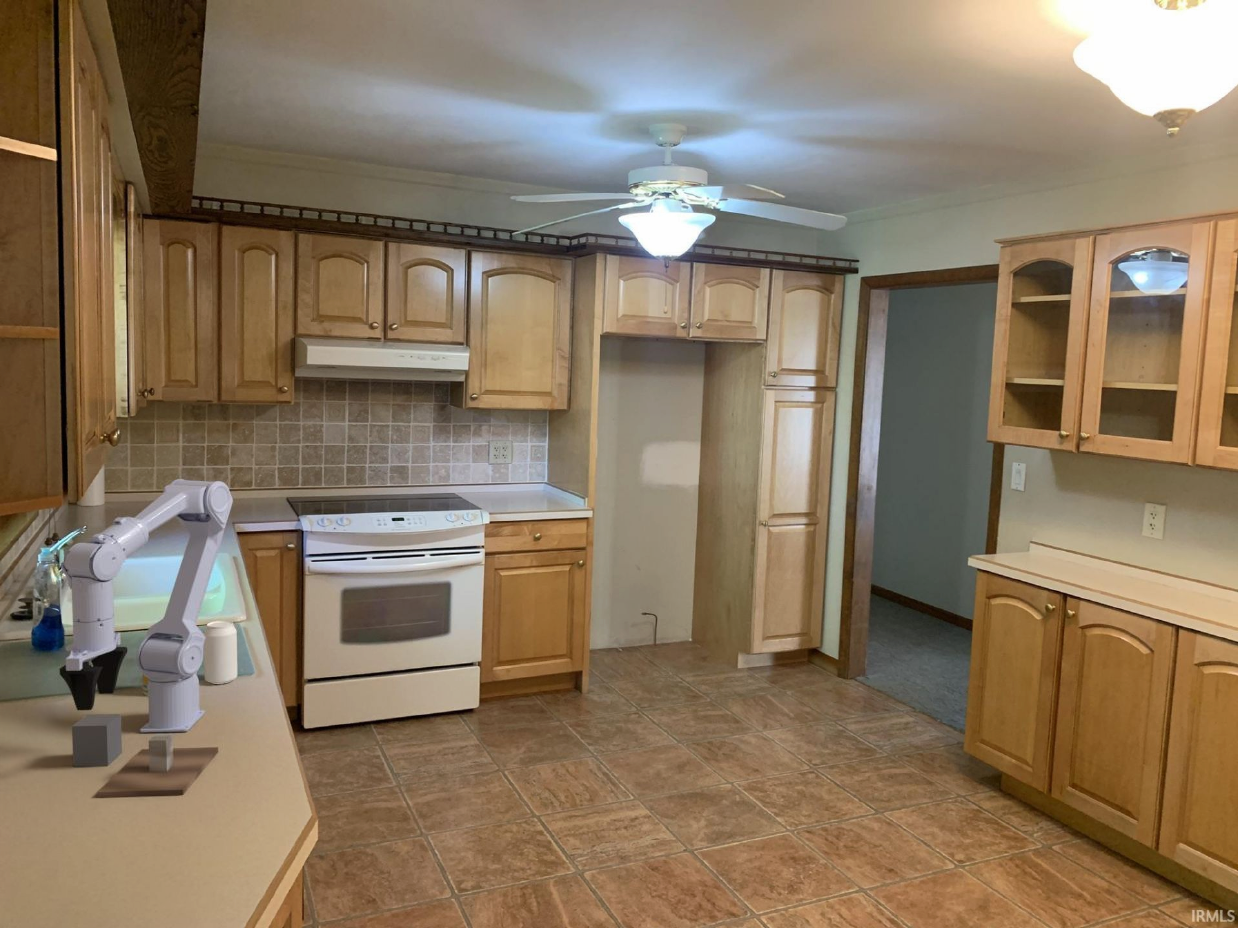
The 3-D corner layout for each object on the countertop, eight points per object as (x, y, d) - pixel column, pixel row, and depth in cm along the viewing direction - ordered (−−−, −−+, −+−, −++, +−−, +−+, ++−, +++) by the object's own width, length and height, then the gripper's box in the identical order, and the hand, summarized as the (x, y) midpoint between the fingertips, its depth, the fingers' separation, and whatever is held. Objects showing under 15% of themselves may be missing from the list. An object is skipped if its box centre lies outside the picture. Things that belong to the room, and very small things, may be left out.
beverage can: (215, 675, 191) (214, 618, 190) (243, 677, 190) (242, 620, 189) (198, 685, 185) (196, 626, 184) (226, 686, 184) (225, 628, 183)
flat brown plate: (142, 753, 151) (141, 719, 150) (218, 751, 152) (217, 717, 152) (97, 797, 135) (96, 758, 134) (183, 794, 136) (182, 756, 136)
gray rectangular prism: (88, 753, 150) (87, 714, 150) (122, 752, 151) (120, 713, 150) (73, 766, 145) (71, 726, 145) (107, 765, 146) (106, 725, 145)
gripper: (88, 607, 153) (90, 686, 154) (43, 630, 139) (46, 717, 140) (132, 606, 154) (134, 685, 155) (92, 629, 139) (95, 716, 140)
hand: (96, 701), depth 147 cm, fingers open, 7 cm apart
